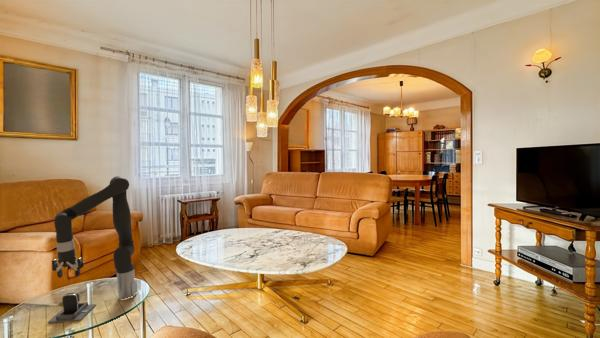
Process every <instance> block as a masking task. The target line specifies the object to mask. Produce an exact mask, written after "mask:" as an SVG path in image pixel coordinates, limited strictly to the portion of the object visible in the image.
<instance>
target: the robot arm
mask: <svg viewBox="0 0 600 338" xmlns="http://www.w3.org/2000/svg"><path fill="white" fill-rule="evenodd" d="M129 188H130V182H129V180H127V178H125V177H123V176H119V175H117V176H114V177H112V178H111V179H110V181H109V184H108V185H107V186H106V187H105V188H102V189H101V190H100V191H98V192H96V193H94V194H90V195H89V196H87V197H84V198H83V199H82V200H80V201H78V202H77V203H75V204H73V205H72V206H70V207H68V208H65V209H63V210H61V211H59V212H58V213H57V214H56V215H55V216H54V219H53V224H54V228H55V233H56V234H55V239H56V251H57V252H56V253H57V258H54V259H53V260H52V261H51V270H52V271H53V272H54V271H55V272H56V274H57V277H58V278H59V279H62V277H63V268H71V269H73V270H74V274H75V277H77V278H78V277H79V276H80V275H81V270H82V269H83V268H84V266H85V265H84V261H83V257H82V256H80V257H76V246H75V245H76V243H75V241H74V233H73V228H72V227H73V226H72V225H73V223H72V221H73V220H74V219H76V218H78V217H80V216H83V215H86V214H87V213H88V212H89V211H91V210H93V209H95V208H96V207H97V206H99V205H101V204H102V203H104V202H106V201H108V200H109V199H111V198H112V223H113V227H114V230H115V232H116V233H117V236H118V246H117V248H116V249H115V250H114V251H113V263H114V269H115V270H116V281H117V294H118V299H119V300H120V299H125V298H128V297H131V296H134V294H135V293H136V292H137V293H138V283H137V278H135V275H136V274H135V266H134V265H135V264H134V263H133V262H132V255H133V254H134V252H135V245H134V240H133V233H132V231H133V230H132V213H131V209H130V205H129V202H128V199H127V198H128V197H127V191H128V189H129Z"/></svg>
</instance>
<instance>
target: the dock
mask: <svg viewBox="0 0 600 338" xmlns="http://www.w3.org/2000/svg"><path fill="white" fill-rule="evenodd" d="M96 306H97V304H96V303H94V304H93V303H91V304H89V302H86V301H85V302H78V307H79V309H78V310H77V311H76V312H75V313H74V314H70V315H64V308H62V309H61V310H59V311H58V312H57V313H56V314H55V315H54V316H52V317H51V318H50V319H49V320H48V321H47V324H48V323H49V324H59V323H75V322H81V321H82V320H83V319H84V318H85V317H86V316H87V315H88V314H89V313H90V312H91V311H93V309H94V308H95V307H96Z"/></svg>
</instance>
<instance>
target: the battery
mask: <svg viewBox="0 0 600 338" xmlns="http://www.w3.org/2000/svg"><path fill="white" fill-rule="evenodd" d="M78 303H80V295H79V293H78V292H68V293H66V294H65V295H63V296H62V307H63V308H64V315H70V314H74V313H75V312H76V311H77V310H78V309H79V307H78ZM63 308H62V309H63Z"/></svg>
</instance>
